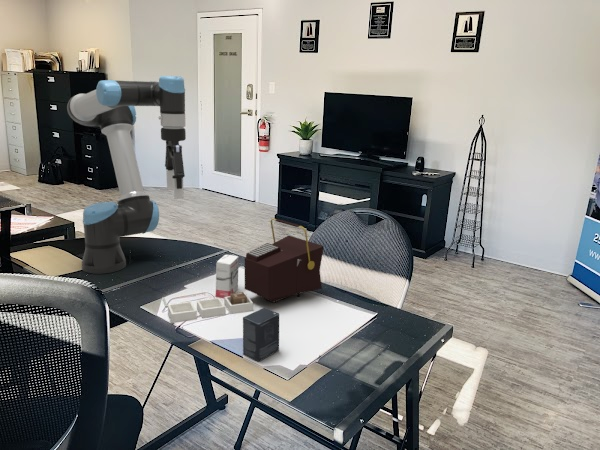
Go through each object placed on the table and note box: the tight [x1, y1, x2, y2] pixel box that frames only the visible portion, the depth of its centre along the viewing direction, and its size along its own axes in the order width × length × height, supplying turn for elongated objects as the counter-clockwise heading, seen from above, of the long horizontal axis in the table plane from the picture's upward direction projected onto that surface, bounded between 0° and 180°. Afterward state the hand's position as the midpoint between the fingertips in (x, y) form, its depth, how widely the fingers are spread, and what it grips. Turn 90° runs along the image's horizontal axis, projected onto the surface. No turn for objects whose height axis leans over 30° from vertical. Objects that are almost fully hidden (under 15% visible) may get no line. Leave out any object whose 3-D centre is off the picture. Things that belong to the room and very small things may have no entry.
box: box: [242, 307, 280, 363], centre depth 126 cm, size 8×6×11 cm
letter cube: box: [230, 291, 247, 305], centre depth 152 cm, size 4×4×4 cm
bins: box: [167, 293, 254, 325], centre depth 149 cm, size 7×24×3 cm, turn 113°
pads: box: [161, 297, 168, 308], centre depth 160 cm, size 7×24×1 cm, turn 113°
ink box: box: [215, 254, 240, 299], centre depth 161 cm, size 9×5×12 cm, turn 168°
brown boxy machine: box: [244, 218, 325, 304], centre depth 159 cm, size 16×23×25 cm
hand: (175, 194), depth 162 cm, fingers open, 13 cm apart
